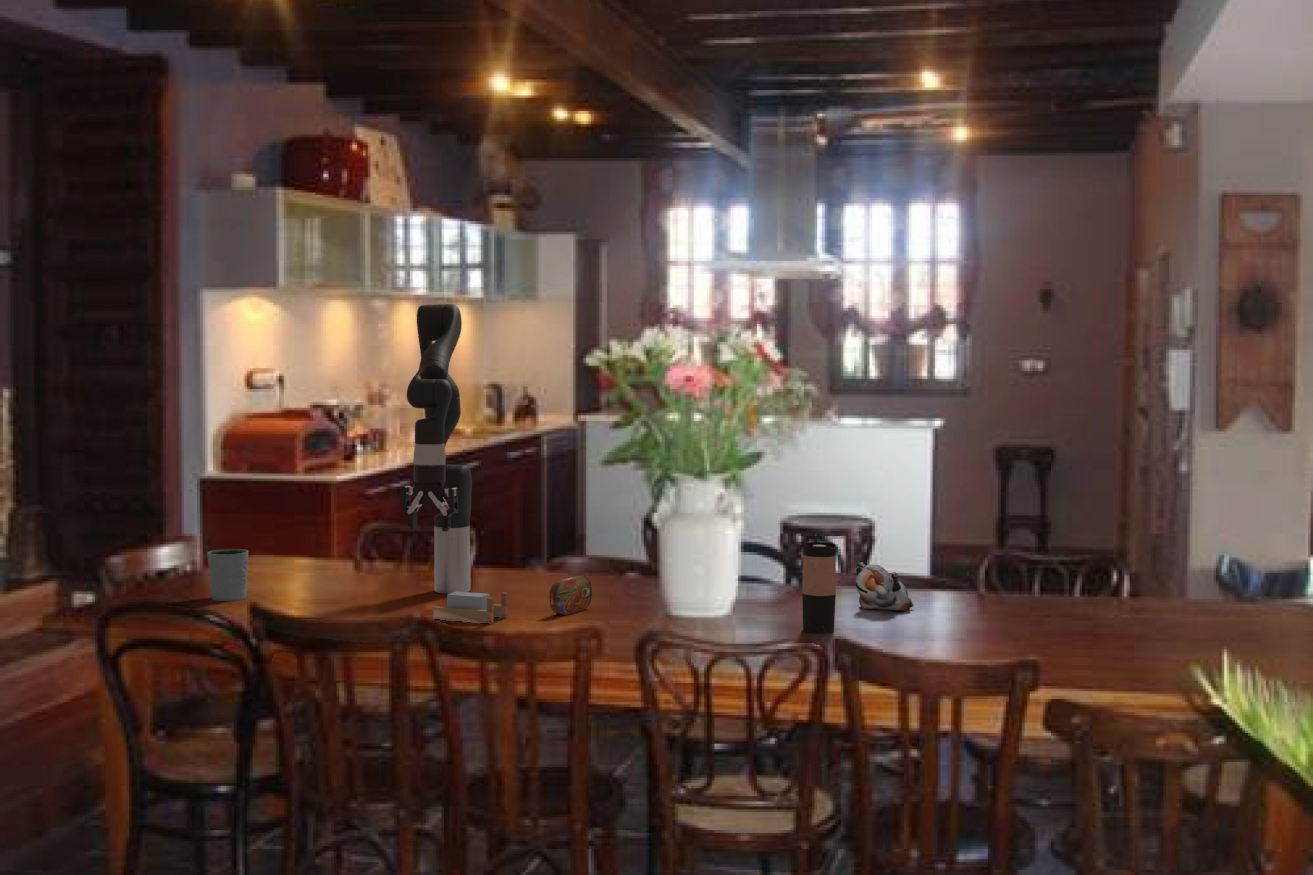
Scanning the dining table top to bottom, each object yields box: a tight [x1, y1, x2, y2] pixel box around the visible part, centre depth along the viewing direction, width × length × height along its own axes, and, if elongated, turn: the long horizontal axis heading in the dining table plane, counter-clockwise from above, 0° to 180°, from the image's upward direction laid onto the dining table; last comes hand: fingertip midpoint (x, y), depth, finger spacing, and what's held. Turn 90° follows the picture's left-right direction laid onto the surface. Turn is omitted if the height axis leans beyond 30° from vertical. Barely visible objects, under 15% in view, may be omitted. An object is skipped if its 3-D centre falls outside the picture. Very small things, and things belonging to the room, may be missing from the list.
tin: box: [549, 575, 593, 616], centre depth 374 cm, size 15×3×8 cm, turn 148°
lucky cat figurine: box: [855, 561, 915, 613], centre depth 380 cm, size 15×12×14 cm
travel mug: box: [801, 541, 837, 634], centre depth 353 cm, size 8×8×20 cm
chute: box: [432, 592, 509, 625], centre depth 364 cm, size 9×15×6 cm, turn 70°
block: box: [446, 591, 491, 610], centre depth 365 cm, size 4×9×6 cm, turn 70°
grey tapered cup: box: [206, 548, 249, 602], centre depth 390 cm, size 10×10×12 cm
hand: (429, 530), depth 367 cm, fingers open, 8 cm apart
